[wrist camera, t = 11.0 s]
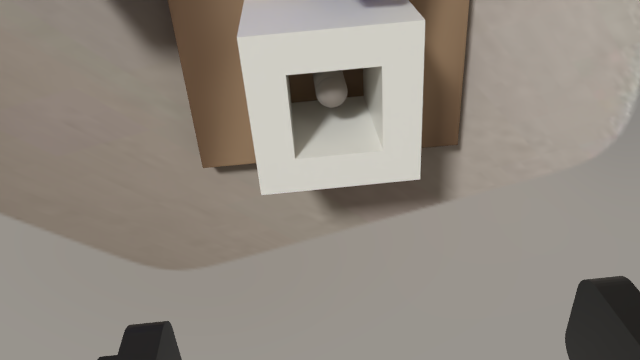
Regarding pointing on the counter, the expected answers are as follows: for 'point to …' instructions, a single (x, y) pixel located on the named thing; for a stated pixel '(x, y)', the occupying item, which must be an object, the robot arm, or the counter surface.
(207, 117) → the pin base
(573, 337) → the robot arm
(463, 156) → the counter surface
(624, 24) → the counter surface
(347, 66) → the white hollow square block
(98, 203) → the counter surface
